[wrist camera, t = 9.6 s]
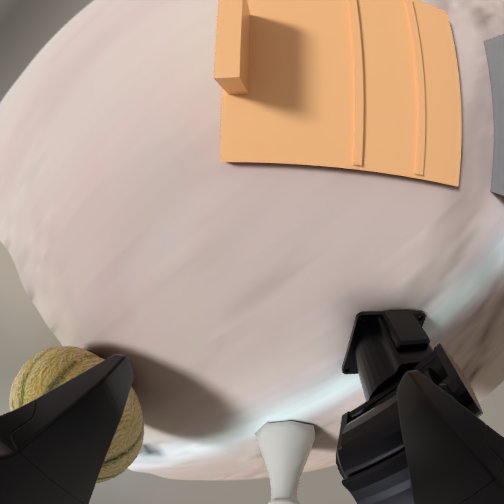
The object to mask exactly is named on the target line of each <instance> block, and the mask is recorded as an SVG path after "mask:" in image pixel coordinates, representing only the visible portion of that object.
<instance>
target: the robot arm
mask: <svg viewBox="0 0 504 504" xmlns="http://www.w3.org/2000/svg"><path fill="white" fill-rule="evenodd" d="M420 316H421V317H420ZM362 317H364V319H362V320H360V319H361V318H362ZM419 317H420V318H419ZM425 317H426V316H425V314H424V312H423V311H410V310H398V311H383V312H360V313H358V314H357V315H356V318H355V322H354V326H353V330H352V334H351V337H350V341H349V345H348V348H347V352H346V355H345V358H344V362H343V365H342V372H343V373H344V374H358V373H359V377H360V380H361V384H362V387H363V391H364V395H365V398H366V402H365V403H363V404H362V405H360V406H359V407H357V408H356V409H354V410H352V411H351V412H347V413H345V414H344V415H342V421H341V428H340V434H339V440H338V446H337V452H336V464H337V466H338V469H339V471H340V474H341V475H342V477H343V478H344V479H343V480H342V484H343V485H344V486H345V487H346V488H347V489H348V490H349V491H350V493H351V494H352V496H353V497H354V499H355V500H356V502H357V504H504V437H502V436H501V435H499V434H498V433H497V432H495V431H494V430H493V429H492V428H490V427H489V426H488V425H486V424H485V423H484V422H483V421H481V420H480V419H479V418H478V417H479V416H481V415H482V414H483V412H482V409H481V407H480V405H479V402H478V400H477V398H476V396H475V393H474V391H473V389H472V387H471V385H470V384H469V382H468V381H467V379H466V377H465V376H464V374H463V373H462V371H461V370H460V368H459V367H458V365H457V364H456V363H455V362H454V360H453V359H452V358H451V356H450V355H449V354H448V353H447V351H446V350H445V349H444V348H443V346H442V345H441V344H440V343H439V344H438V345H437V346H436V347H435V348H434V350H433V349H432V348H431V346H430V345H429V343H430V339H429V337H428V336H427V334H426V333H425V331H424V330H423V328H422V326H423V323H424V320H425ZM347 368H348V369H347ZM133 378H134V373H133V370H132V367H131V364H130V361H129V358H128V357H127V356H125V355H121V354H114V355H112V356H111V357H109V358H107V359H106V360H104V361H102V362H100V363H99V364H97V365H95V366H93V367H92V368H90V369H88V370H86V371H85V372H83V373H81V374H79V375H78V376H76V377H74V378H72V379H71V380H69V381H67V382H65V383H63V384H62V385H60V386H58V387H56V388H55V389H53V390H51V391H49V392H47V393H46V394H44V395H42V396H40V397H38V398H37V399H35V400H33V401H31V402H29V403H27V404H25V405H23V406H21V407H19V408H17V409H15V410H13V411H10V412H8V413H6V414H3V415H1V416H0V504H89V501H90V498H91V495H92V492H93V490H94V487H95V484H96V481H97V479H98V476H99V473H100V470H101V468H102V465H103V463H104V460H105V457H106V455H107V452H108V450H109V447H110V445H111V442H112V440H113V437H114V435H115V432H116V430H117V428H118V425H119V423H120V420H121V418H122V415H123V412H124V409H125V405H126V402H127V399H128V395H129V392H130V389H131V385H132V382H133Z"/></svg>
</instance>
